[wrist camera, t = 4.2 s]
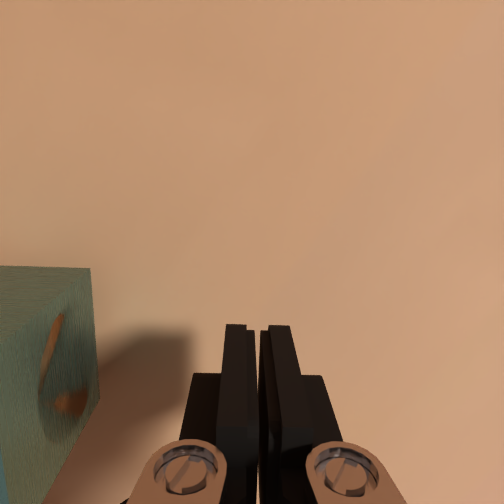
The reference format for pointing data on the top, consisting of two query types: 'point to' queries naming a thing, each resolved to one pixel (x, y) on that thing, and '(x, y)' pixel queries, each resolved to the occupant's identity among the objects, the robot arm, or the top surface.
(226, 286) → the top surface
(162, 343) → the top surface
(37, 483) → the bronze piece
